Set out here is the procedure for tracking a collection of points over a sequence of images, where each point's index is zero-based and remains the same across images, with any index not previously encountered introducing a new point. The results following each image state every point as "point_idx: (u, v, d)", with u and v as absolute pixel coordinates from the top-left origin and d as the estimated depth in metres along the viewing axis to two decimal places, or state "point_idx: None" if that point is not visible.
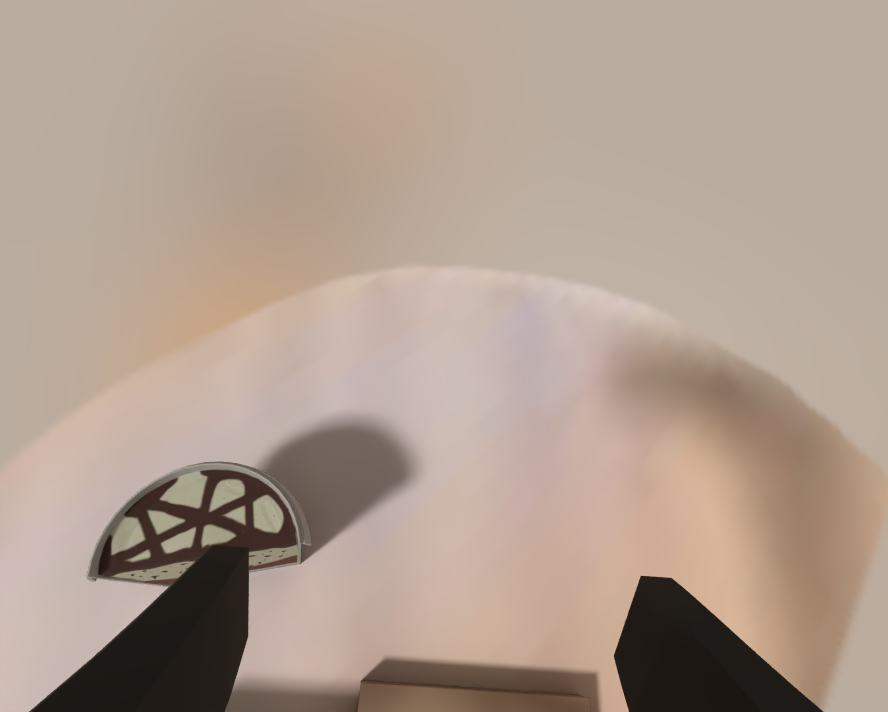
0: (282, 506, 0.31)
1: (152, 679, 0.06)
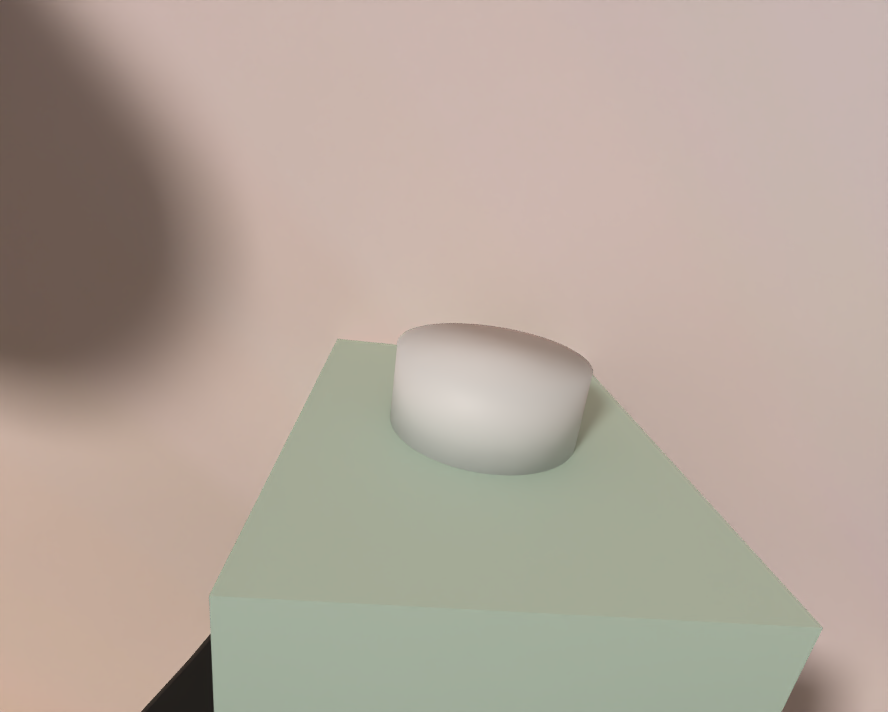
0: None
1: None
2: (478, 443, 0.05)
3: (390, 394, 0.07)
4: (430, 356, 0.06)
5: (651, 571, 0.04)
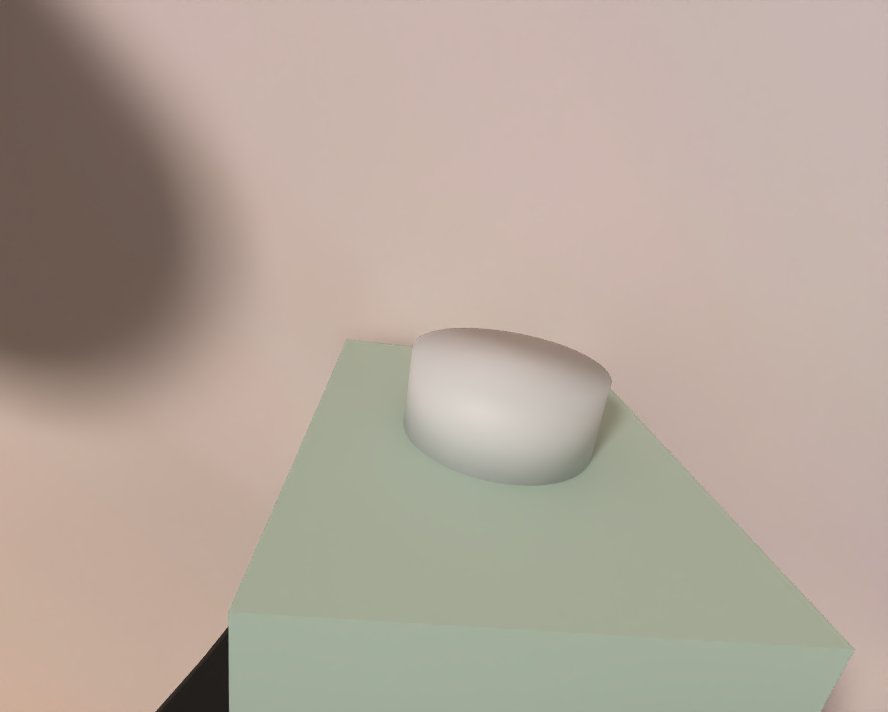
0: None
1: None
2: (497, 452, 0.05)
3: (402, 399, 0.07)
4: (447, 363, 0.06)
5: (678, 588, 0.04)
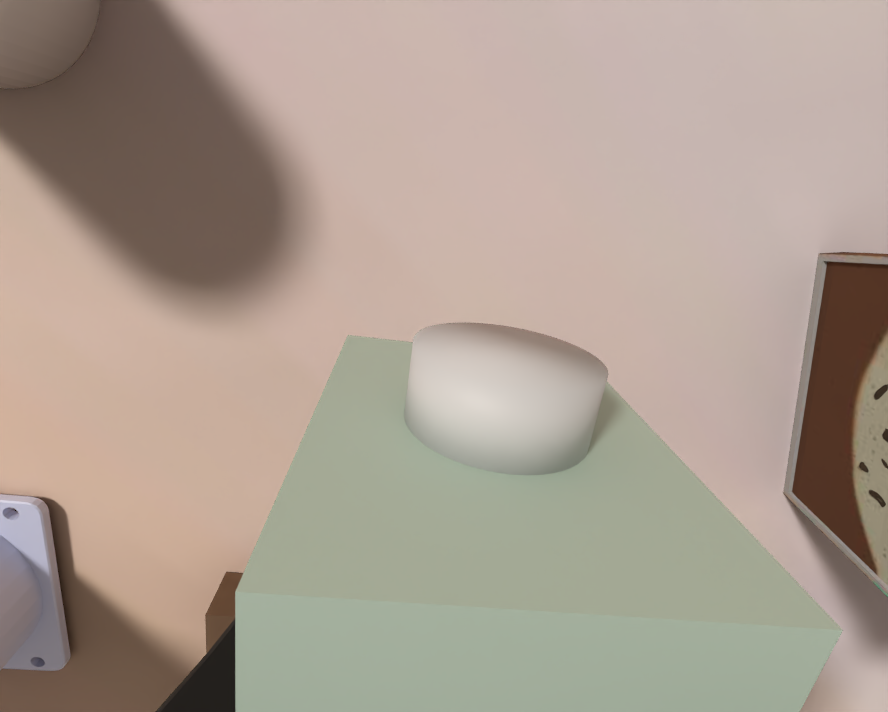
0: None
1: None
2: (495, 442, 0.05)
3: (403, 392, 0.07)
4: (447, 355, 0.06)
5: (671, 571, 0.04)
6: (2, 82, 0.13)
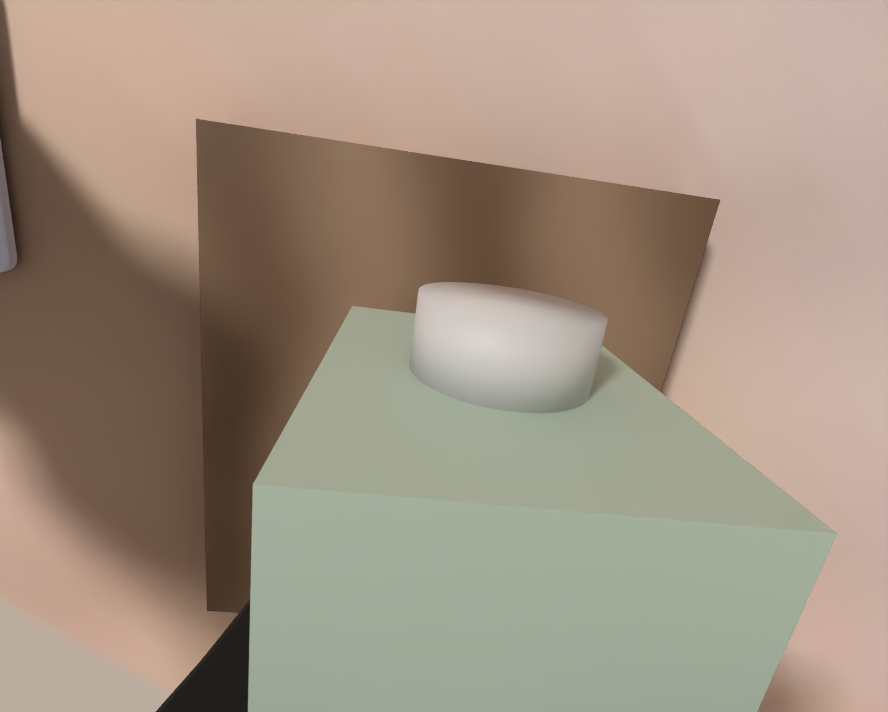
0: None
1: None
2: (499, 379, 0.05)
3: (407, 349, 0.07)
4: (452, 301, 0.06)
5: (670, 486, 0.04)
6: None
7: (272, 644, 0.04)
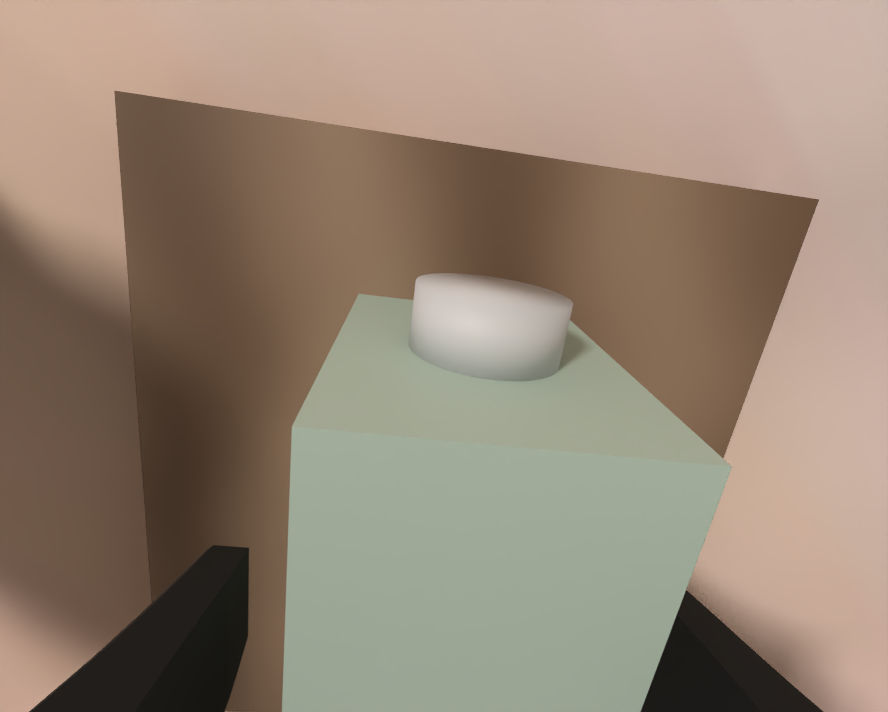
0: None
1: (152, 679, 0.06)
2: (481, 353, 0.07)
3: (407, 331, 0.08)
4: (443, 289, 0.07)
5: (611, 434, 0.06)
6: None
7: (304, 550, 0.05)
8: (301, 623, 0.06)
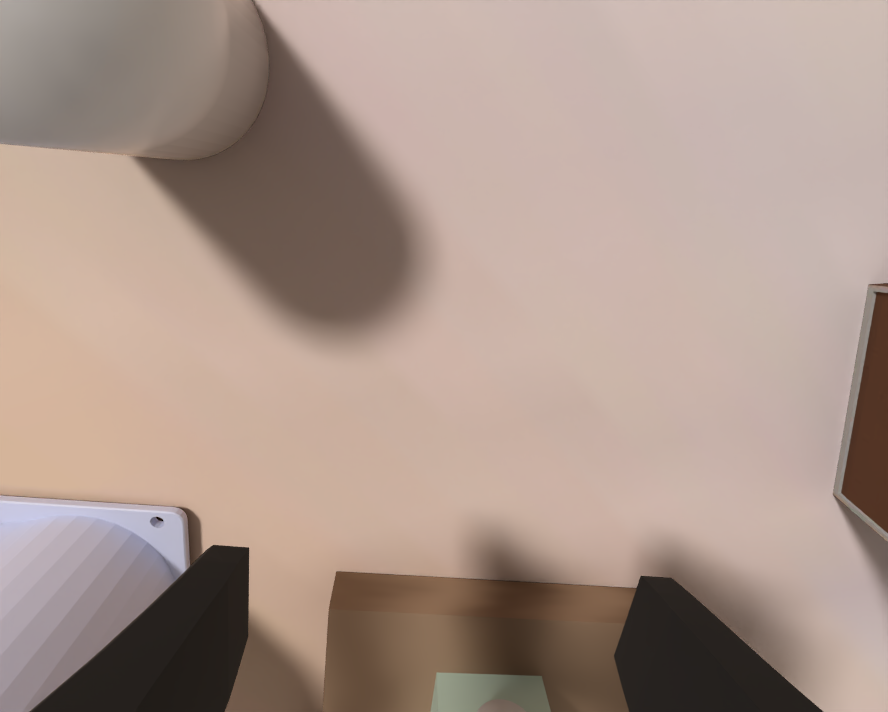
0: None
1: (152, 679, 0.06)
2: None
3: None
4: None
5: None
6: (187, 158, 0.15)
7: None
8: None
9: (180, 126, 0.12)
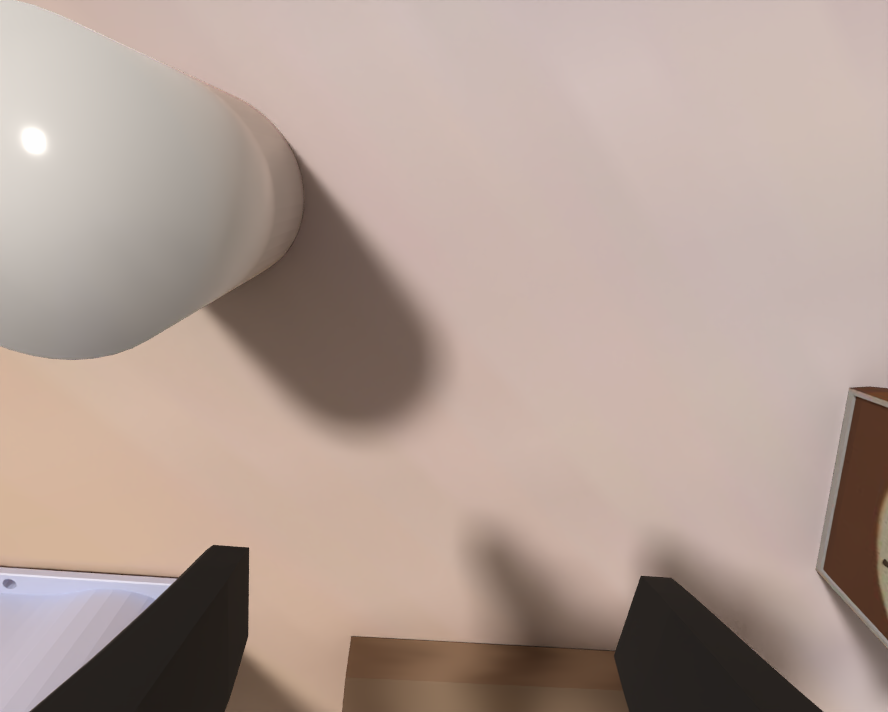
0: None
1: (152, 679, 0.06)
2: None
3: None
4: None
5: None
6: None
7: None
8: None
9: (232, 288, 0.13)
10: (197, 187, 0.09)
